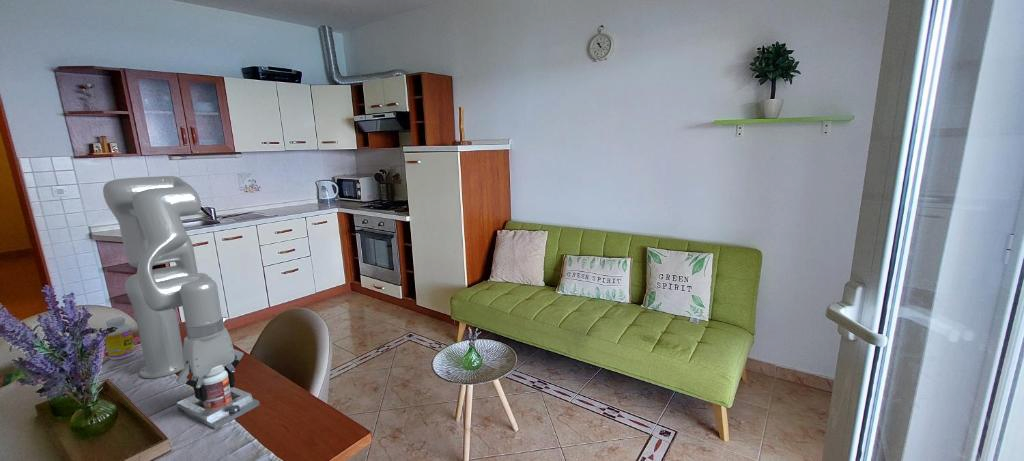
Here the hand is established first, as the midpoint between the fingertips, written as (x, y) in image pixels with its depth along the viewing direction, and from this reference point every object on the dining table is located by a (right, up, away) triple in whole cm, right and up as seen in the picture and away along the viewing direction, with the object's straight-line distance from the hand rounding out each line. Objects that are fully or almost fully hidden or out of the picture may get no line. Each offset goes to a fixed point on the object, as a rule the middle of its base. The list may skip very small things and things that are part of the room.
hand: (216, 392), depth 111 cm
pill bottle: (0, -4, +1) cm, 4 cm away
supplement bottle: (-53, 0, +32) cm, 62 cm away
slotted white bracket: (0, -4, +1) cm, 5 cm away
